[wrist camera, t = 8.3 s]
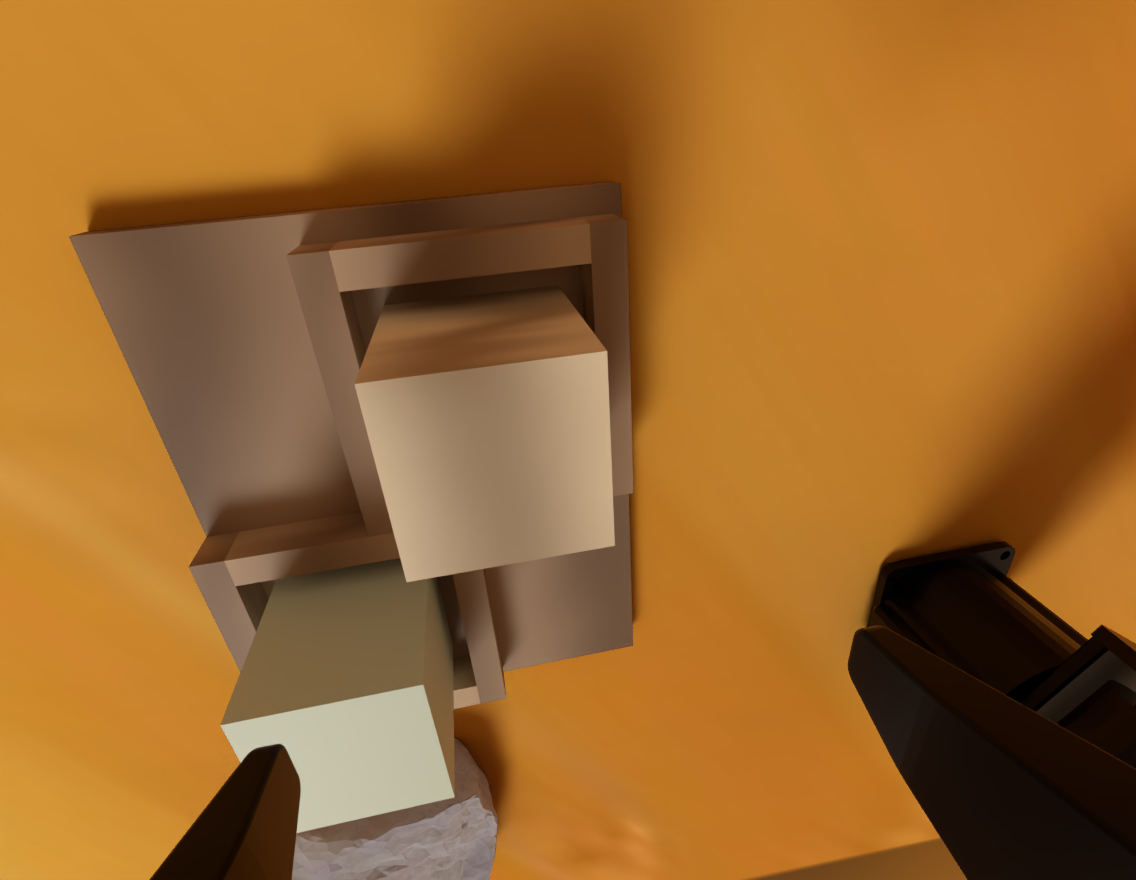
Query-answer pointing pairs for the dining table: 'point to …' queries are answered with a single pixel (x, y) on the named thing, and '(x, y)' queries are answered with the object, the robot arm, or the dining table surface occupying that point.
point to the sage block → (352, 691)
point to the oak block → (489, 430)
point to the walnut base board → (330, 403)
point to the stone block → (410, 838)
